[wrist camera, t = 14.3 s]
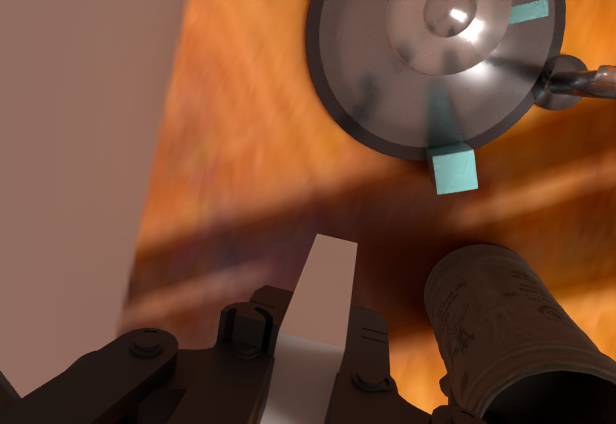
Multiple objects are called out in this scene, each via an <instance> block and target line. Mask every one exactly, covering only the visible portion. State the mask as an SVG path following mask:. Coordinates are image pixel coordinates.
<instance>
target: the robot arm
mask: <svg viewBox="0 0 616 424" xmlns="http://www.w3.org/2000/svg"><path fill="white" fill-rule="evenodd" d="M357 244H358V243H355V242H350V241H346V240H342V239H338V238H333V237H329V236H325V235H321V234H317V235H316V238H315V241H314V243H313V246H312V248H311V251H310V253H309V256H308V258H307V261H306V263H305V266H304V269H303V271H302V274H301V276H300V279H299V281H298V284H297V286H296V289H295V291H294V292H292V291H288V290H284V289H280V288H276V287H272V286H268V285H265V286H264V287H262V288H260V289H258V290H256V291H255V292H254V294H253V295H252V297H251V299H250V301H249V302H239V303H234V304H231V305H228V306H226V307H225V308H224V309H223V310H221V316H220V322H219V329H218V336H217V342H216V344H215V345H214V347H212V348H208V349H201V350H188V349H178V344H179V343H178V342H177V340H176V338H175V337H174V336H173V335H172V334H170V333H169V332H167V331H163V330H160V329H155V328H143V329H137V330H132V331H130V332H128V333H126V334H123V335H122V336H120V337H119V338H117V339H115V340H114V341H112V342H111V343H109V344H107V345H106V346H104V347H103V348H101V349H100V350H98V351H93V352H90V353H87V354H85V355H83V356H82V357H80V358H79V359H78V360H77V361H75V362H74V363H73V364H72V365H71V366H70V367H69V368H68V369H67V370H66V371H64V372H63V373H61V374H60V375H58V376H57V377H55V378H53V379H52V380H50V381H49V382H47V383H45V384H44V385H42V386H41V387H39V388H37V389H36V390H34V391H33V392H31V393H30V394H28V395H26V396H25V397H24V398H20V396H19V395H18V393H17V392H16V391H15V389H14V388H13V387H12V386H11V384H10V383H9V382H8V380H7V379H6V378H5V376H4V375H3V374H2V372H1V371H0V424H487V423H486V422H485V421H484V420H483V419H481V418H480V417H479V416H477V415H476V414H475V413H473V412H471V411H469V410H467V409H465V408H462V407H458V406H454V405H441V406H439V407H437V408H436V409H434V410H433V413H432V415H430V414H428V413H427V412H425V411H423V410H421V409H419V408H417V407H415V406H413V405H412V404H410V403H408V402H407V401H406V400H405V399H403V398H402V397H401V396H400V395H399V394H398V389H397V386H396V383H395V381H394V379H393V378H392V377H391V376H390V361H389V345H388V343H389V339H388V323H387V321H386V320H385V318H384V317H383V315H382V314H381V312H377V311H373V310H369V309H365V308H361V307H357V306H353V305H350V302H351V294H352V286H353V277H354V269H355V261H356V252H357ZM260 422H261V423H260Z"/></svg>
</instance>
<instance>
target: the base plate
mask: <svg viewBox="0 0 616 424" xmlns="http://www.w3.org/2000/svg"><path fill="white" fill-rule="evenodd" d="M554 3H555V24H554V31H553V38H552V42H551V46H550V49H549V53H548V56H547V59H546V60H547V61H548V62H550V61H549V60H552V57H554V58H555V56H559V53H560V50H561V46H562V42H563V36H564V29H565V14H566V5H565V0H554ZM323 4H324V0H311V1H310V5H309V9H308V15H307V23H306V53H307V61H308V66H309V70H310V74H311V78H312V81H313V83H314V86H315V88H316V91H317V93H318V95H319V97H320V99H321V101H322V103H323V105H324V106H325V108H326V109H327V111H328V112H329V113H330V115H331V116H332V118H333V119H334V120H335V121H336V122H337V123H338V124H339V125H340V126H341V127H342V128H343V130H345V131H346V132H347V133H348V134H349V135H351V136H352V137H353V138H354V139H356V140H357V141H359V142H361V143H362V144H364V145H365V146H367V147H369V148H371V149H373V150H376V151H378V152H380V153H382V154H386V155H389V156H393V157H396V158H402V159H408V160H426V161H428V160H427V153H426V147H412V146H405V145H400V144H397V143H393V142H390V141H387V140H385V139H383V138H380V137H378V136H376V135H374V134H373V133H371V132H369V131H368V130H366V129H365V128H363V127H362V126H361V125H360V124H358V123H357V122H356V121H355V120H354V119H353V118H352V117H351V116H350V115H349V114H348V113H347V112H346V111H345V110H344V108H343V107H342V106H341V104H340V103H339V102H338V100H337V99H336V97H335V95H334V93H333V91H332V90H331V88H330V86H329V83H328V80H327V78H326V75H325V72H324V68H323V65H322V61H321V54H320V46H319V28H320V19H321V12H322V8H323ZM550 58H551V59H550ZM556 60H558V58H555V61H553V60H552V61H553V62H554V63H555V64H554V63H553V62H552V61H551V63H553V65H552V64H551V65H550V64H549V66H550V69H549V67H547V68H548V69H549V70H550V71H548V72H549V74H548V75H549V76H550V77H551V74H552V72H551V69H552V68H553V70H554V67H555V65H556V63H557V61H556ZM547 61H546V63H547ZM544 65H545V64H544ZM547 65H548V64H547ZM551 66H553V67H551ZM547 68H545V69H547ZM543 69H544V68H542V70H543ZM553 70H552V71H553ZM546 71H547V70H546ZM548 72H547V73H548ZM545 73H546V72H545ZM547 73H546V74H545V75H544V76H546V77H547V76H548V75H547ZM543 74H544V70H543ZM541 75H542V74H539V76H538V78H537V80H536V82H535V84H534V88H535V85H536V88H535V89H536V90H537V89H539V90H538V94H539V93H540V94H541V93H542V91H543V89H544V88H545V86H546V85H545V86H544V84H546V83H547V82H548V81H547V80H548V78H549V76H548V78H546V77H544V78H545V79H546V80H545V81H546V83H544V82H545V81H544V82H543V81H542V82H543V83H544V84H543V85H541V84H542V83H541V79H542V78H541V77H540V76H541ZM539 77H540V78H539ZM549 79H550V78H549ZM539 80H540V81H539ZM538 81H539V82H540V84H538V83H539V82H538ZM537 82H538V83H537ZM537 85H538V86H540V87H541V88H540V87H538V86H537ZM542 87H543V88H542ZM534 88H532V89H533V91H534V90H535V89H534ZM540 89H542V90H540ZM536 90H535V91H534V94H535V95H534V94H533V95H532V93H533V91H532V90H531V89H530V91H529V92H528V94H527V95H526V96H525V98H524V99H523V100H522V101H521V102H520V103H519V104H518V106H517V107H516V108H515V109H514V110H513V111H512V112H511V113H510V114H508V115H507V116H506V117H505V118H504V119H503V120H501V121H500V122H499V123H497V124H496V125H494V126H493V127H491V128H490V129H488V130H487V131H485V132H483V133H481V134H479V135H477V136H475V137H473V138H470V139H467V140H465V141H463V142H464V143H465V144H467V145H468V146H469V147H470V148H472V149H473V150H475V149H477V148H479V147H481V146H483V145H485V144H487V143H489V142H491V141H492V140H494V139H496V138H497V137H499V136H500V135H502V134H503V133H505V132H506V131H507V130H508V129H509V128H511V127H512V126H513V125H514V124H515V123H517V122H518V121H519V120H520V119H521V117H522V116H523V115H524V114H525V113H526V112H527V111H528V110H529V109H530V108H531V106H532V105H533V104H534V102H535V100H536V98H535V99H534V96H535V97H537V96H539V95H540V94H539V95H537V91H536ZM536 95H537V96H536ZM537 98H538V97H537Z"/></svg>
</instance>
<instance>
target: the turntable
mask: <svg viewBox="0 0 616 424" xmlns="http://www.w3.org/2000/svg"><path fill="white" fill-rule="evenodd" d="M387 5H388V0H324V4H323V8H322V12H321V19H320V28H319V46H320V54H321V61H322V65H323V68H324V72H325V75H326V78H327V80H328V83H329V86H330V88H331V90H332V91H333V93H334V95H335V97H336V99H337V100H338V102H339V103H340V104H341V106H342V107H343V108H344V110H345V111H346V112H347V113H348V114H349V115H350V116H351V117H352V118H353V119H354V120H355V121H356V122H357V123H358V124H360V125H361V126H362V127H363V128H365V129H366V130H368V131H369V132H371V133H373V134H374V135H376V136H378V137H380V138H383V139H385V140H387V141H390V142H393V143H397V144H400V145H405V146H412V147H426V153H427V160H428V167H429V175H430V180H431V182H432V184H433V186H434V188H435V190H436V192H437V194H438V195H439V194H445V193H452V192H458V191H465V190H471V189H478V185H477V176H476V167H475V158H474V150H473V149H472V148H470V147H469V146H468V145H467V144H465V143H464V142H463V141H465V140H467V139H470V138H473V137H475V136H477V135H479V134H481V133H483V132H485V131H487V130H488V129H490V128H491V127H493V126H494V125H496V124H497V123H499V122H500V121H501V120H503V119H504V118H505V117H506V116H507V115H508V114H510V113H511V112H512V111H513V110H514V109H515V108H516V107H517V106H518V104H519V103H520V102H521V101H522V100H523V99H524V98H525V96H526V95H527V94H528V92H529V91H530V89H531V88H532V87H533V85H534V83H535V82H536V80H537V78H538V76H539V74H540V73H541V71H542V68H543V66H544V64H545V61H546V59H547V56H548V53H549V49H550V46H551V42H552V38H553V31H554V24H555V3H554V0H512V7H511V15H510V20H509V23H508V26H507V29H506V31H505V33H504V35H503V37H502V39H501V41H500V42H499V44H498V45H497V47H496V48H495V49H494V50H493V52H492V53H491V54H490V55H489V56H488V57H487V58H486V59H484V60H483V61H482V62H480V63H479V64H477V65H476V66H474V67H472V68H470V69H468V70H466V71H464V72H460V73H457V74H452V75H440V76H428V75H422V74H418V73H416V72H413V71H411V70H410V69H408V68H406V67H405V66H404V65H402V64H401V63H400V62H399V61H398V59H397V58H396V57H395V55H394V54H393V52H392V50H391V48H390V46H389V43H388V39H387V35H386V13H387Z"/></svg>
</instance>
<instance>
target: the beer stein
mask: <svg viewBox="0 0 616 424" xmlns="http://www.w3.org/2000/svg"><path fill="white" fill-rule="evenodd" d="M424 303H425V309H426V312H427V314H428V316H429V318H430V322H431V325H432V328H433V330H434V334H435V337H436V340H437V343H438V347H439V351H440V354H441V357H442V359H443V360H444V363H445V367H446V370H447V374H446V375H445V376H444V377H443V378H441V379H440V381H439V383H440V388H441V391H442V392H443V393H444V395H445V396H447V397H448V405H454V406H458V407H462V408H465V409H467V410H469V411H471V412H473V413H475V414H476V415H477V416H479V417H480V418H481V419H483V420H484V421H485V422H486V423H487V424H616V362H615V361H614V360H613V359H611V358H610V357H609V356H607V355H605V354H603V353H601V352H600V351H599V349H598V348H597V346H596V345H595V344H594V343H593V342H592V341H591V339H590V338H589V337H588V336H587V335H586V334H585V333H584V332H583V331H582V330H581V329H580V328H579V327H578V326H577V325H576V324H575V322H574V321H573V320H572V319H571V318H570V317H569V316H568V314H567V313H566V312H565V311H564V309H563V308H562V307H561V306H560V305H559V304H558V302H557V301H556V300H555V299H554V297H553V296H552V294H551V293H550V292H549V291H548V289H547V288H546V287H545V285H544V284H543V282H542V280H541V279H540V278H539V277H538V276H537V275H536V274H535V273H534V271H533V270H532V269H531V267H530V266H529V265H528V263H527V262H526V261H525V260H523V259H522V258H521V257H520V256H519V255H517V254H516V253H514V252H512V251H510V250H508V249H506V248H504V247H500V246H496V245H488V244H478V245H470V246H465V247H462V248H460V249H457V250H454V251H452V252H450V253H449V254H447V255H446V256H445V257H443V258H442V259H440V260H439V262H438V263H437V264H436V265H435V266H434V267H433V269H432V271H431V272H430V274H429V276H428V278H427V281H426V285H425V288H424Z"/></svg>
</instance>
